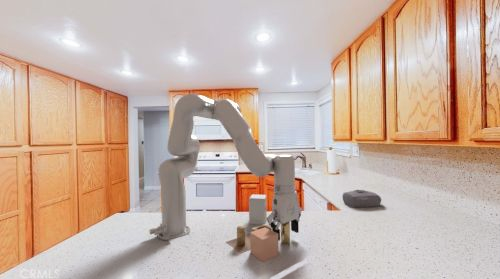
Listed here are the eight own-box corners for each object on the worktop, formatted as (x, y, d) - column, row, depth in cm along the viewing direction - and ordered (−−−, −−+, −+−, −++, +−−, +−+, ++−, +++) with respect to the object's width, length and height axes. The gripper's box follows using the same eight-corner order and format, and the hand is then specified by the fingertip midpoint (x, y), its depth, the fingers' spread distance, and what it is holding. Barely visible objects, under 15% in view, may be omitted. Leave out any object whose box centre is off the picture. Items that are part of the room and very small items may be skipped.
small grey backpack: (353, 209, 115) (388, 208, 116) (353, 194, 115) (388, 192, 116) (339, 201, 130) (370, 200, 131) (339, 188, 130) (370, 186, 131)
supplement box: (265, 227, 94) (264, 198, 94) (248, 226, 95) (248, 198, 95) (267, 220, 101) (266, 194, 101) (251, 220, 102) (251, 193, 102)
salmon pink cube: (263, 265, 66) (262, 239, 65) (250, 256, 71) (250, 232, 71) (278, 258, 69) (278, 233, 69) (265, 249, 75) (264, 227, 75)
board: (241, 256, 70) (240, 235, 70) (225, 245, 78) (225, 225, 78) (279, 240, 81) (279, 221, 81) (262, 231, 89) (262, 214, 89)
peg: (285, 248, 75) (285, 223, 75) (279, 245, 78) (278, 220, 78) (291, 245, 77) (291, 221, 77) (285, 242, 80) (285, 218, 80)
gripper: (274, 194, 69) (275, 247, 69) (308, 186, 80) (309, 232, 80) (259, 190, 75) (261, 238, 75) (292, 183, 86) (293, 225, 86)
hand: (285, 235), depth 77 cm, fingers open, 9 cm apart
